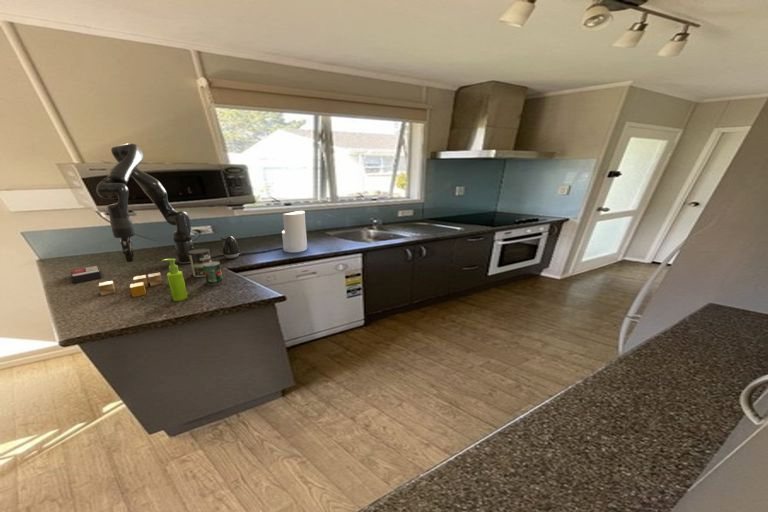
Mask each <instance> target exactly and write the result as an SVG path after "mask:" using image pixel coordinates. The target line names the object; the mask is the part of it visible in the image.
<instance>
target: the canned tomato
mask: <svg viewBox="0 0 768 512" xmlns="http://www.w3.org/2000/svg"><path fill="white" fill-rule="evenodd" d="M203 267H204V273H205V276H204V277H205V283H206V285H207V286H217V285H220V284H222V283H223V282H224V279H223V273H222V272H223V271H222V267H221V262H220V261H217V260H211V262H207V263H204V264H203Z"/></svg>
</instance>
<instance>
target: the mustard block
mask: <svg viewBox="0 0 768 512" xmlns="http://www.w3.org/2000/svg"><path fill="white" fill-rule="evenodd" d="M129 289H130V293H131V296H132V298H135V297H140V296H146V295H147V290H146V287H145V286H144V282H140V283H135V284H134V283H130V284H129Z"/></svg>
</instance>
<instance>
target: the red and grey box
mask: <svg viewBox="0 0 768 512" xmlns="http://www.w3.org/2000/svg"><path fill="white" fill-rule="evenodd" d="M70 278H71V280H72V283H73V284H77V283H83V282H87V281H91V280H97V279H102V278H103V277H102V273H101V270H100V268H99V266H97V265H94V266H88V267H82V268H77V269H71V271H70Z"/></svg>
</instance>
